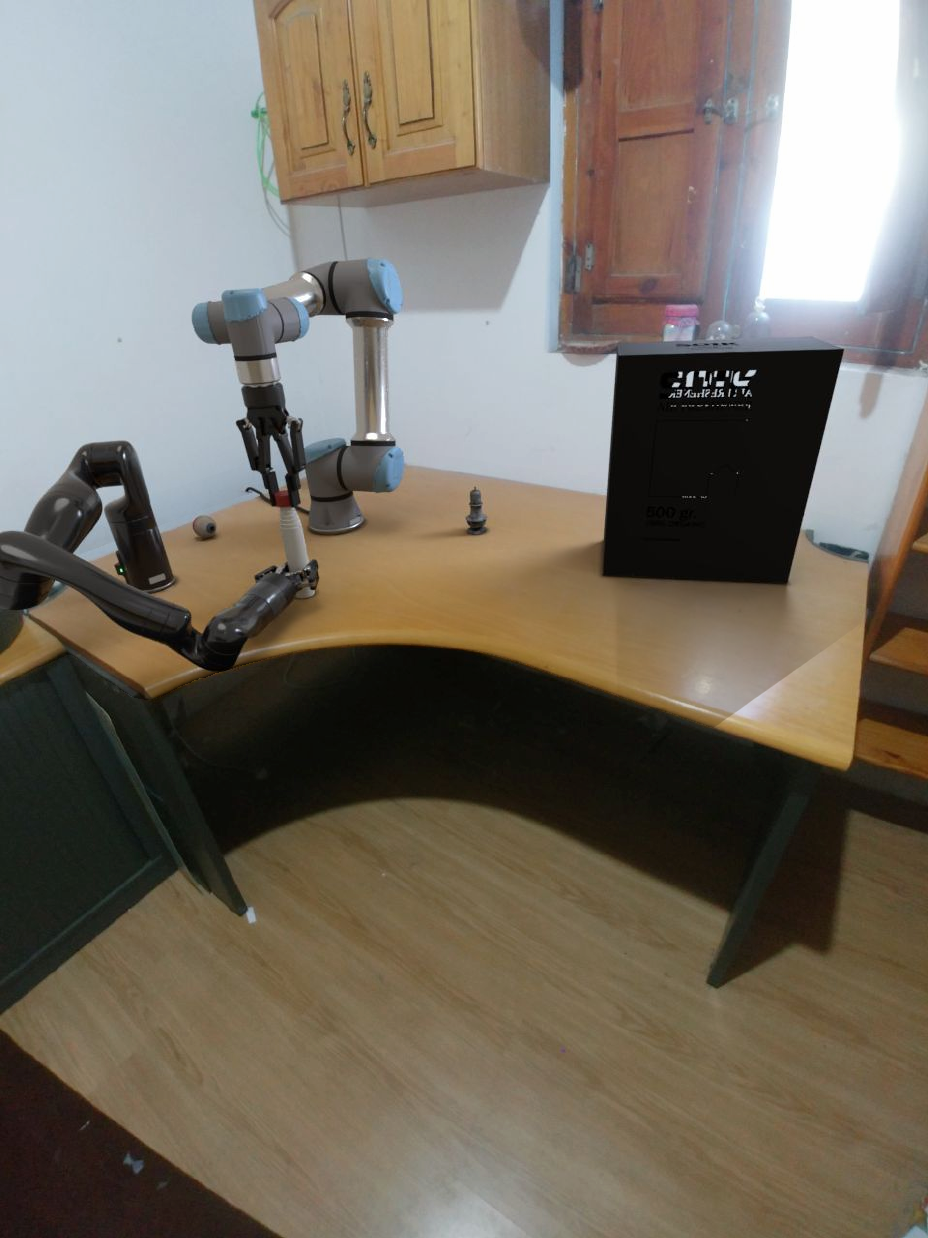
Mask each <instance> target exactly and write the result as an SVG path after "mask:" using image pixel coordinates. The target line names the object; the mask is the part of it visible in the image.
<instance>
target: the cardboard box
mask: <svg viewBox="0 0 928 1238" xmlns="http://www.w3.org/2000/svg"><path fill="white" fill-rule="evenodd" d="M844 353H845V348H843V347H841V346H838V345H835V344H832V343H830V342H827V341H824V340H821V339H819V338H816V337H814V336H792V337H791V336H790V337H788V336H787V337H757V338H729V339H727V338H726V339H698V340H696V339H695V340H669V341H668V340H667V341H665V340H664V341H635V342H617V343H616V355H615V356H616V357H615V358H616V359H615V372H614V385H613V399H612V412H611V429H610V440H609V441H610V443H609V455H608V456H609V458H608V471H607V483H606V485H607V486H606V501H605V514H604V527H603V544H602V545H603V546H602V549H603V550H602V551H603V552H602V576H606V577H625V578H626V577H627V578H628V577H629V578H630V577H631V578H647V579H648V578H653V579H673V580H695V581H697V580H698V581H699V580H700V581H722V582H745V583H763V584H765V583H767V584H786V585H787V584H788V582H789V578H790V575H791V570H792V566H793V562H794V557H795V554H796V549H797V546H798V541H799V537H800V534H801V529H802V526H803V525H802V524H803V521H804V517H805V513H806V509H807V504H808V501H809V496H810V492H811V488H812V484H813V480H814V475H815V472H816V467H817V464H818V460H819V455H820V451H821V448H822V443H823V439H824V435H825V431H826V427H827V422H828V420H829V419H828V418H829V414H830V410H831V407H832V401H833V397H834V395H835V389H836V385H837V381H838V377H839V374H840V373H839V372H840V370H841V366H842V365H841V364H842V360H843V356H844ZM750 371H755V372H754V373H753V374H752V375H749V376H748V375H747V374H748V373H749V372H750ZM692 372H693V375H692V382H691V386H687V382H688V381H687V379H688V375H689V374H690V373H692ZM700 372H705V375H704V376H700ZM679 373H681V376H680V374H679ZM715 373H716V375H715ZM727 373H728V375H727ZM737 373H738V379H737V381H738V382H747V384H746V385H736V384H735V383H734V380H735V376H736V374H737ZM705 382H706V385H704V384H705ZM718 382H719V383H721V382H722V383H723V386H722V385H721V386H719V385H718V386H717V383H718ZM674 384H679V385H677V386H674Z"/></svg>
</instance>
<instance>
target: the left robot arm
mask: <svg viewBox="0 0 928 1238" xmlns="http://www.w3.org/2000/svg"><path fill="white" fill-rule="evenodd" d="M112 487H123V492H124V493H123V495H122V496H120V497H118V498H116V499H114V500H112V501H109V502H108V503H107V504H105V506H103V502H102V498H101V495H100V494H99V492H98V491H97V490H99V489H102V488H112ZM103 512H104V516H105V518H106V521H107V523H108V526H109V529H110V532H111V534H112V538H113V540H114V541H115V546H116V548H117V550H116V551H115V556H116V558H117V561H118V562H117V563H115V564H113V566H114V569H115V572H116V574H117V576H122V577H123V578H124V580H125V582H124V581H123V580H121V579H119V578H117V577H115V576H113V575H112V574H110V573H108V572H106V571H105V570H103V569H102V568H100V567H98V566H97V565H95V564H92V563H91V562H89V561H87V560H85V559H84V558H82V557H80V556H78V555H76V554H75V551H77V549H78V548H79V547H80V546H81V544H82V543H83V542H84V540H85V539H86V538H87V536H88V535H89V534H90V533H91V532H92V530H93V528H95V526H96V524H98V522H99V520H100V518H101V517H102V514H103ZM305 572H306V574H307V575H306V576H305ZM253 578H254V581H255V582H254V584H253V585H251V587H250V588H249V589H247V591H246V592H245V593H244V594H243V596H242V597H240V599H239V600H237V601H236V602H235V603H234V604H233V605H232V606H230V607H227V608H225V609H223V610H221V611H219V612H218V613H216V614H215V615H214V616H213V617H212V618H211V619H210V620H209V621H208V622H207V623H206V625H205V627H204V629H203V632H200V631H199V630H198V629H196V628H195V627H193V624H192V620H193V619H192V618H193V617H192V613H191V611H190V610H189V609H188V608H186V607H184V606H182V605H179V604H177V603H174V602H172V601H169V600H166V599H163V598H161V597H159V596H157V595H153V594H151V593H157V592H160V591H163V590H166V589H167V588H169V587H171V586H172V585H173V584H175V583H176V577H175V575H174V573H173V570H172V566H171V563H170V559H169V557H168V554H167V551H166V548H165V545H164V541H163V537H162V535H161V532H160V529H159V526H158V522H157V520H156V516H155V514H154V510H153V507H152V504H151V499H150V494H149V490H148V488H147V484H146V480H145V477H144V472H143V468H142V465H141V460H140V457H139V455H138V453H137V450H136V449H135V447H134V445H133V444H132V443H131V442H130V441H128V440H126V439H125V440H123V439H120V440H119V439H118V440H105V441H94V442H93V441H92V442H89V443H86V444H83V445H81V446H80V447H79V448H78V449H77V451H76V452H75V453H74V456H73V457H72V459H71V461H70V463H69V464H68V466H67V468H66V469H65V470H64V472H63V473H62V474H61V475H60V476H59V478H58V479H57V480H56V481H55V483H54V484H53V485H51V486H50V487H49V488H48V489H47V491H45V493H44V494H43V495H42V496H41V497H40V498H39V500H38V501H37V502H36V504H35V505H34V507H33V509H32V511H31V512H30V514H29V517H28V519H27V521H26V524H25V526H24V529H23V531H22V530H5V531H1V532H0V609H3V610H7V611H24V610H25V611H26V610H29V609H32V608H35V607H37V606H39V605H41V604H42V603H44V602H45V601H46V600H48V598H49V597H50V595H51V592H52V590H53V587H54V585H55V582H59V583H61V584H63V585H65V586H68V587H69V588H71V589H73V590H75V591H77V592H78V593H79V594H81V595H82V596H83V597H85V598H86V599H88V600H89V602H91V603H92V604H93V605H95V607H97V609H99V610H100V611H101V612H102V613H103V614H104V615H106V617H107V618H108V619H110V620H111V621H112V622H113V623H115V624H116V625H117V626H119V627H120V628H121V629H124V630H125V631H127V632H129V633H131V634H133V635H136V636H139V637H142V638H144V639H146V640H150V641H152V642H155V643H158V644H160V645H164V646H166V647H168V648H169V649H171V650H172V651H173V652H174V653H176V654H177V655H179V656H181V657H182V658H184V659H185V660H187V661H188V662H189V663H191V664H193V665H195V666H196V667H198V668H200V669H202V670H205V671H207V672H213V673H224V672H227V671H229V670H231V669H232V668H233V667H234V666H235V664H236V662H237V661H238V659H239V657H240V655H241V654H242V651H243V649H244V647H245V645H246V644H247V642H248V641H249V640H250V639H253V638H256V637H257V636H258V635H260V634H261V633H262V632H264V631H265V629H266V628H267V627H268V626H269V625H270V624H271V623H272V622H274V621H275V620H276V619H277V618H278V617H279V616H281V614H282V613H283V612H284V611H285V610H286V609H287V608H288V607H289V606H290V605H291V604H292V603H293V602H294V600H295V598H296V597H295V595H296V593H297V592H298V591H300V590H302V589H303V587H310V590H315V591H316V590H317V588H318V585H319V582H320V575H319V562H318V561H317V559H315V558H313V559H311V560H310V561H309V563H308V564H307V565H306V567H304V568H302V569H300V568H298V569H296V570H295V571H293V572H291V573H290V572H289V567H288V562H287V561H285V563H283V564H280V565H279V566H277V565H275V564H273V565H271V566H269V567H266V568H265V569H263V570H262V571H260V572H258V573H255V575H253Z"/></svg>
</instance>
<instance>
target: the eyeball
mask: <svg viewBox="0 0 928 1238" xmlns="http://www.w3.org/2000/svg"><path fill="white" fill-rule="evenodd" d="M192 529H193V532H194V533H195V534H196V535H197V536H198V537H201V538H210V537H212V536H214V535H215V533H216V531H217V523H216V521H215V520H214V519H213V518H212V517H211V516H208V515H204V514H203V515H199V516H197V517H196V518H195V519H194V520H193V521H192Z"/></svg>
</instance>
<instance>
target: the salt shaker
mask: <svg viewBox="0 0 928 1238" xmlns="http://www.w3.org/2000/svg"><path fill="white" fill-rule="evenodd" d="M468 505H469V510H470V511H469V514H468V515H466V516H465V517H464V518H465V521H466V524H467V525H468V528H467V529H466V532H467V533H468V534H472V535H481V534H484V533H486V532H487V531H488V528H487V527H486V526H485V525H486V523H487V519H488V518H489V517H488V515H487V514H484V513H483V505H484V502H482V492H481V491H480V489H477V486H473V489H472V490H470V491H469V503H468Z"/></svg>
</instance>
